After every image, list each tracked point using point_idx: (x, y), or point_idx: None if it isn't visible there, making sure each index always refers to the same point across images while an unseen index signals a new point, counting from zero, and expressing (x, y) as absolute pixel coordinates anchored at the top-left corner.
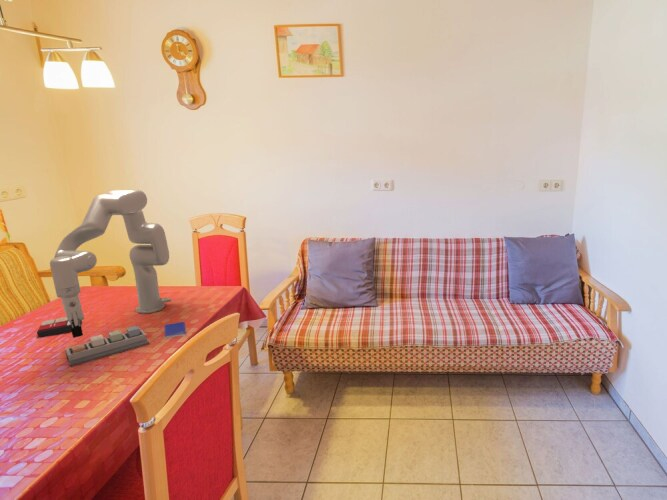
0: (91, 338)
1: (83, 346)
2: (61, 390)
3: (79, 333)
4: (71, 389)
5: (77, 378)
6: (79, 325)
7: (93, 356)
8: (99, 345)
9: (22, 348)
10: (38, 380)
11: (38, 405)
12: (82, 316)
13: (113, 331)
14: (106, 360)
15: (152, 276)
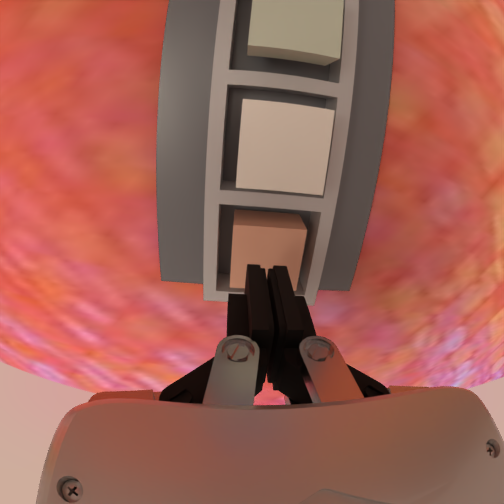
0: (268, 183)
1: (285, 234)
2: (460, 322)
3: (305, 304)
4: (478, 302)
5: (448, 280)
6: (335, 356)
7: (356, 191)
8: (226, 121)
9: (52, 357)
10: (351, 366)
11: (462, 358)
12: (494, 427)
13: (255, 11)
14: (417, 152)
15: None
